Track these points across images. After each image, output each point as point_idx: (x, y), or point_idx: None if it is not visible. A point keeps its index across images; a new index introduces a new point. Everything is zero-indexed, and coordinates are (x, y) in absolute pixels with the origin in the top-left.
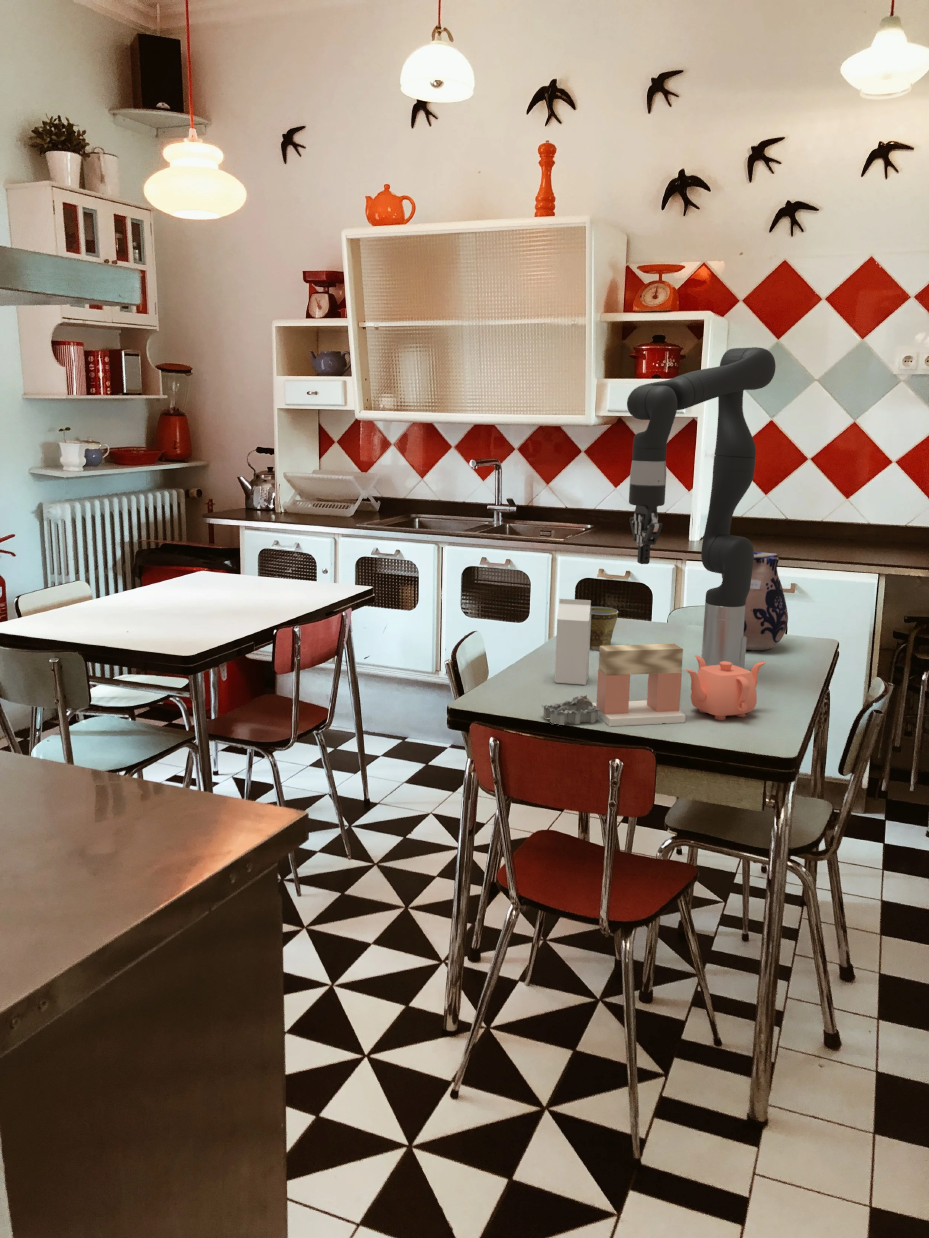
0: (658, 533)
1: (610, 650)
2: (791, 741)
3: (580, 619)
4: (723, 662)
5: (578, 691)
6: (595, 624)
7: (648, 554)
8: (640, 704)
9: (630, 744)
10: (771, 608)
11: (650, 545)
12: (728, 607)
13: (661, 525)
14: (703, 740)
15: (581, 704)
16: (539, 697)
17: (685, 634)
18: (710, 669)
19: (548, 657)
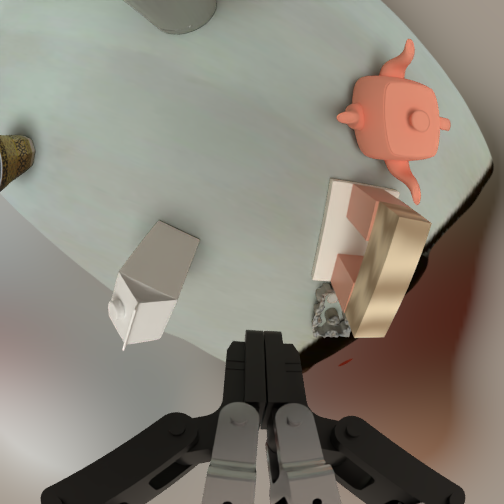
0: (425, 470)
1: (384, 332)
2: (470, 121)
3: (170, 311)
4: (420, 125)
5: (227, 259)
6: (11, 173)
7: (300, 377)
8: (342, 224)
9: (417, 279)
10: None
11: (325, 420)
12: None
13: (461, 498)
14: (441, 206)
15: (319, 295)
16: (243, 310)
17: (4, 26)
18: (405, 142)
19: (64, 235)
